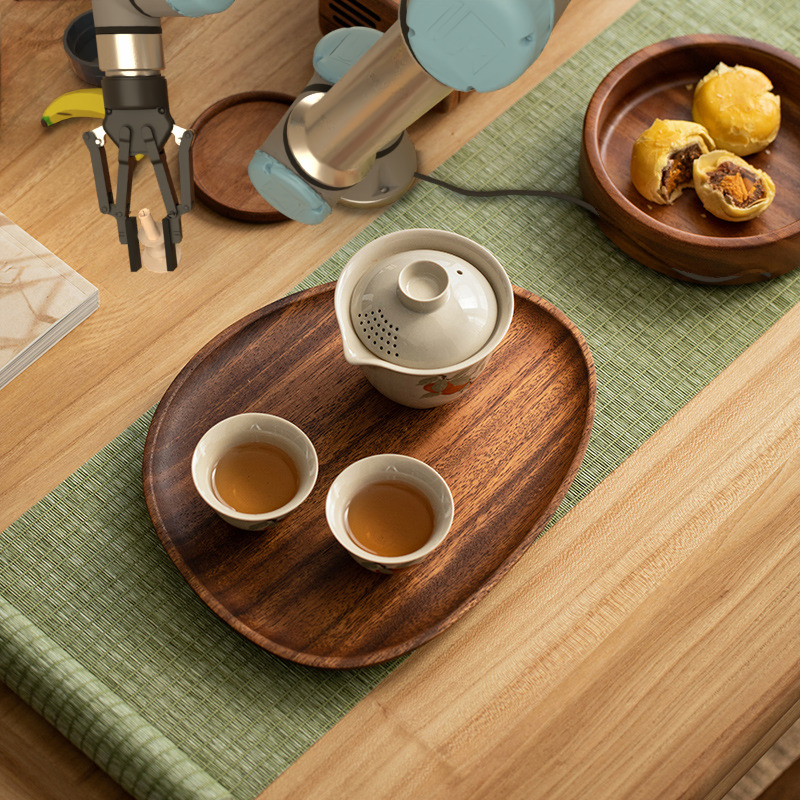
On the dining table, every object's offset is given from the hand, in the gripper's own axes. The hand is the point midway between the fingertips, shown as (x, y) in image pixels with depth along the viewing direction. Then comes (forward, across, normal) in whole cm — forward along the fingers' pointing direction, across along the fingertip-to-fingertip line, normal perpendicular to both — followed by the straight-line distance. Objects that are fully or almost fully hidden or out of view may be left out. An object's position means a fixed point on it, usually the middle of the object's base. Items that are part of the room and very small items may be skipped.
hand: (154, 268), depth 117 cm
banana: (-13, +14, -29) cm, 35 cm away
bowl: (-25, +13, -40) cm, 49 cm away
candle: (0, 0, -5) cm, 5 cm away
